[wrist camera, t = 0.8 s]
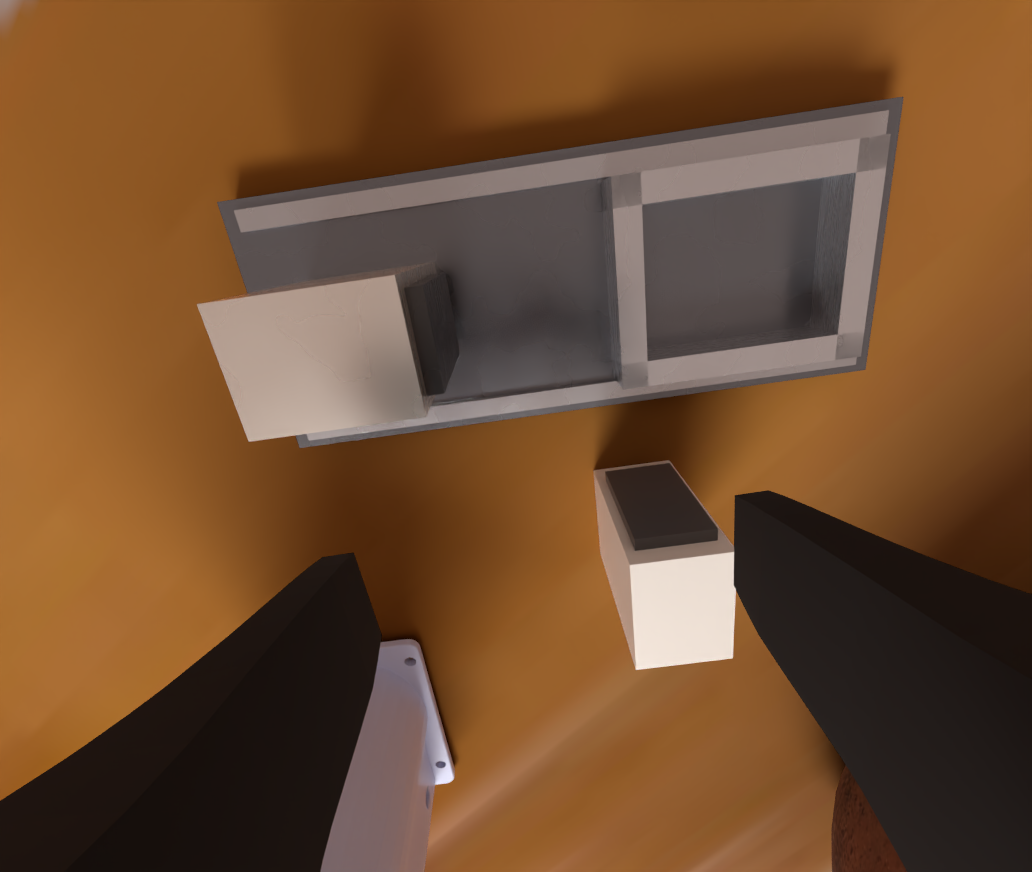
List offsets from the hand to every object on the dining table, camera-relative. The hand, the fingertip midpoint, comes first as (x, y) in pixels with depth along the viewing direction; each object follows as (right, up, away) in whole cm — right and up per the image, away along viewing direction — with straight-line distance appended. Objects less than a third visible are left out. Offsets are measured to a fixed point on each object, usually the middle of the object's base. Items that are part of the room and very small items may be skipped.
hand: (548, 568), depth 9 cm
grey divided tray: (+1, +8, +7) cm, 10 cm away
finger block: (+4, 0, +11) cm, 11 cm away
